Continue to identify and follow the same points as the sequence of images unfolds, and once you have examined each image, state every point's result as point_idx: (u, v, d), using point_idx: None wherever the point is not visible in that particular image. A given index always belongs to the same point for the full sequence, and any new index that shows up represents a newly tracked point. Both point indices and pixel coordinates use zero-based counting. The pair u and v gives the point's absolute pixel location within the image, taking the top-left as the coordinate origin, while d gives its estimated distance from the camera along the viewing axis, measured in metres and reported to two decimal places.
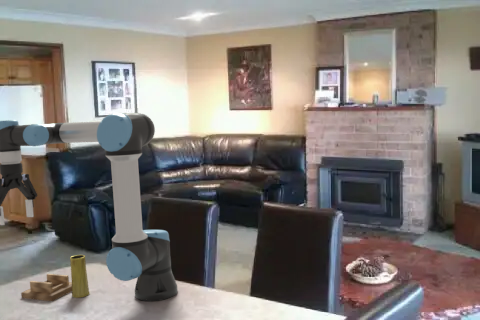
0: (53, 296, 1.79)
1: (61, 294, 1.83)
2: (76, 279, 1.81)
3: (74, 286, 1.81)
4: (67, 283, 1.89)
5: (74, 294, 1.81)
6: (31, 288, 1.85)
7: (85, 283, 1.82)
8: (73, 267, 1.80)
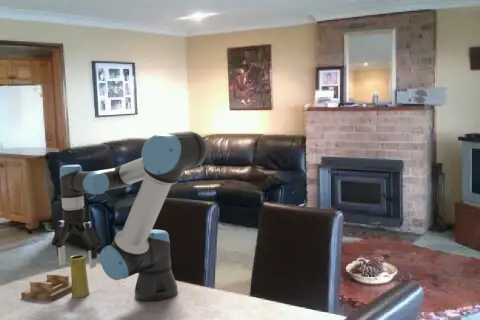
0: (53, 296, 1.79)
1: (61, 294, 1.83)
2: (76, 279, 1.81)
3: (74, 286, 1.81)
4: (67, 283, 1.89)
5: (74, 294, 1.81)
6: (31, 288, 1.85)
7: (85, 283, 1.82)
8: (73, 267, 1.80)
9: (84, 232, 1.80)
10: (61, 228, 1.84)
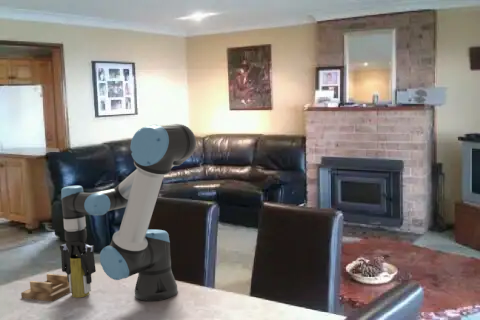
0: (53, 296, 1.79)
1: (61, 294, 1.83)
2: (76, 279, 1.81)
3: (74, 286, 1.81)
4: (67, 283, 1.89)
5: (74, 294, 1.81)
6: (31, 288, 1.85)
7: None
8: (73, 267, 1.80)
9: (84, 255, 1.81)
10: (66, 252, 1.84)
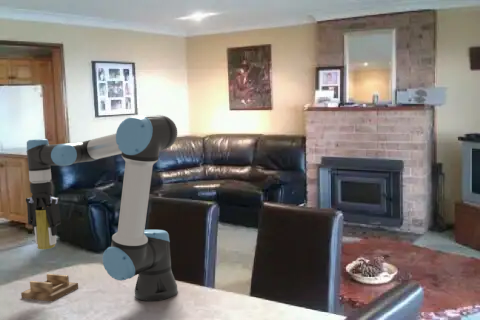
0: (53, 296, 1.79)
1: (61, 294, 1.83)
2: (41, 231, 1.83)
3: (39, 238, 1.83)
4: (67, 283, 1.89)
5: (39, 246, 1.84)
6: (31, 288, 1.85)
7: None
8: (38, 219, 1.83)
9: (49, 207, 1.84)
10: (32, 205, 1.86)
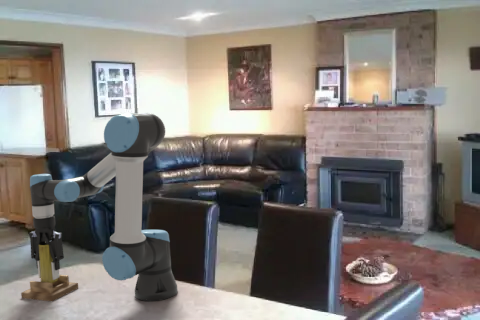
0: (53, 296, 1.79)
1: (61, 294, 1.83)
2: (44, 266, 1.84)
3: (42, 272, 1.84)
4: (67, 283, 1.89)
5: (42, 280, 1.85)
6: (31, 288, 1.85)
7: None
8: (41, 253, 1.84)
9: (52, 242, 1.85)
10: (35, 239, 1.88)
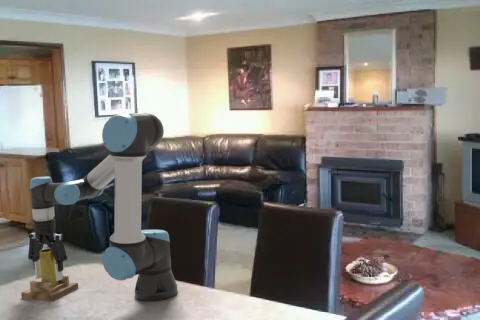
0: (53, 296, 1.79)
1: (61, 294, 1.83)
2: (45, 272, 1.84)
3: (43, 279, 1.85)
4: (67, 283, 1.89)
5: None
6: (31, 288, 1.85)
7: (54, 276, 1.86)
8: (42, 260, 1.84)
9: (53, 244, 1.85)
10: (34, 240, 1.88)
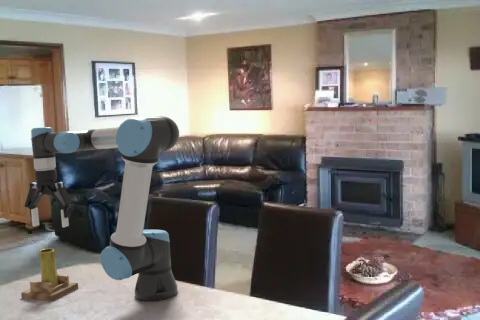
0: (53, 296, 1.79)
1: (61, 294, 1.83)
2: (45, 272, 1.84)
3: (43, 279, 1.85)
4: (67, 283, 1.89)
5: None
6: (31, 288, 1.85)
7: (54, 276, 1.86)
8: (42, 260, 1.84)
9: (56, 192, 1.85)
10: (34, 190, 1.88)
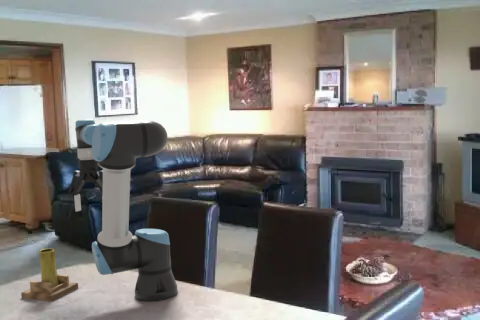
0: (53, 296, 1.79)
1: (61, 294, 1.83)
2: (45, 272, 1.84)
3: (43, 279, 1.85)
4: (67, 283, 1.89)
5: None
6: (31, 288, 1.85)
7: (54, 276, 1.86)
8: (42, 260, 1.84)
9: (98, 180, 2.00)
10: (77, 178, 2.04)
